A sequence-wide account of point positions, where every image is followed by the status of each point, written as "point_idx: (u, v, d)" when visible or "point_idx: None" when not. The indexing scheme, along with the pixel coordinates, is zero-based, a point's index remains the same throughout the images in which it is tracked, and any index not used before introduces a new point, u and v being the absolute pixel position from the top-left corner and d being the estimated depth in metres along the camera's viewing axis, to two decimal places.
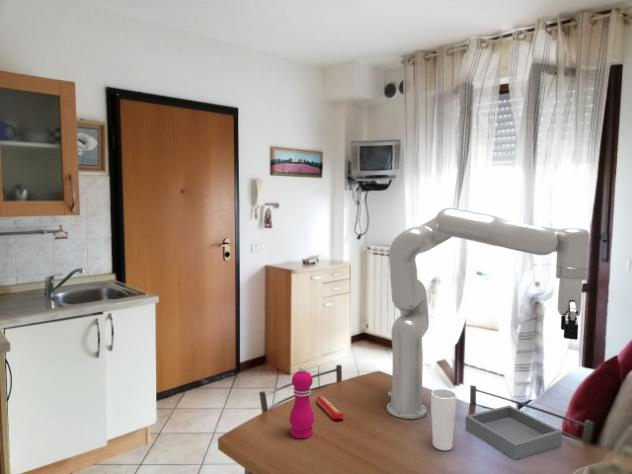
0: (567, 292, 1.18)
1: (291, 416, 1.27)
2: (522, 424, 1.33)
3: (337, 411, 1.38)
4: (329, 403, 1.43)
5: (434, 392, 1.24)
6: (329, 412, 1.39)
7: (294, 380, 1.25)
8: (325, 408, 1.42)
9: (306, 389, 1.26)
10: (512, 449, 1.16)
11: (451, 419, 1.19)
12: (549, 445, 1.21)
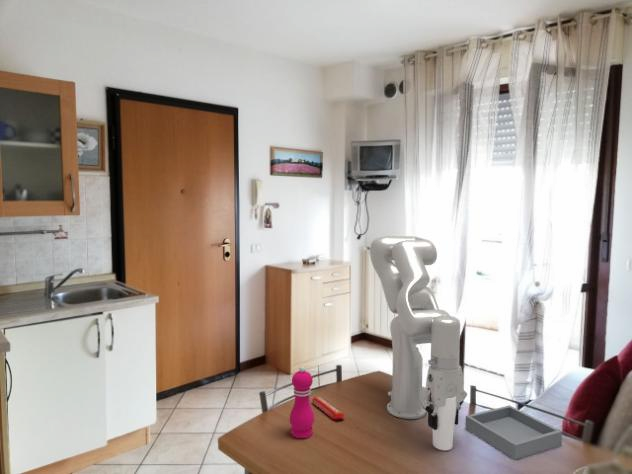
0: None
1: (291, 416, 1.27)
2: (522, 424, 1.33)
3: (337, 411, 1.37)
4: (327, 403, 1.42)
5: None
6: (329, 412, 1.39)
7: (294, 380, 1.25)
8: (324, 409, 1.41)
9: (306, 389, 1.26)
10: (512, 449, 1.16)
11: (451, 419, 1.19)
12: (549, 445, 1.21)
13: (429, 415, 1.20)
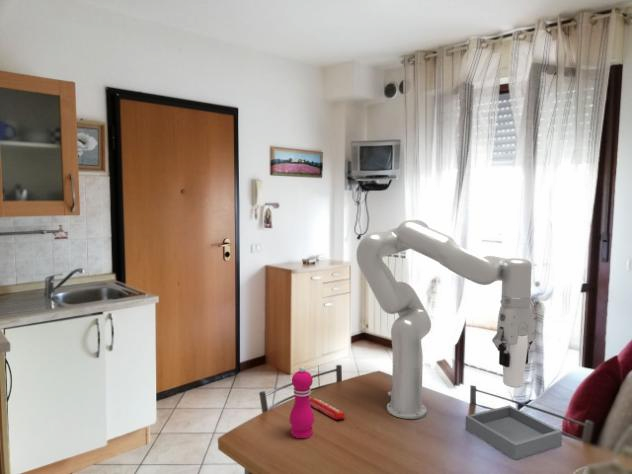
0: None
1: (291, 416, 1.27)
2: (522, 424, 1.33)
3: (338, 411, 1.38)
4: (326, 404, 1.42)
5: None
6: (329, 413, 1.38)
7: (294, 380, 1.25)
8: (323, 409, 1.41)
9: (306, 389, 1.26)
10: (512, 449, 1.16)
11: (523, 357, 1.23)
12: (549, 445, 1.21)
13: (501, 353, 1.24)
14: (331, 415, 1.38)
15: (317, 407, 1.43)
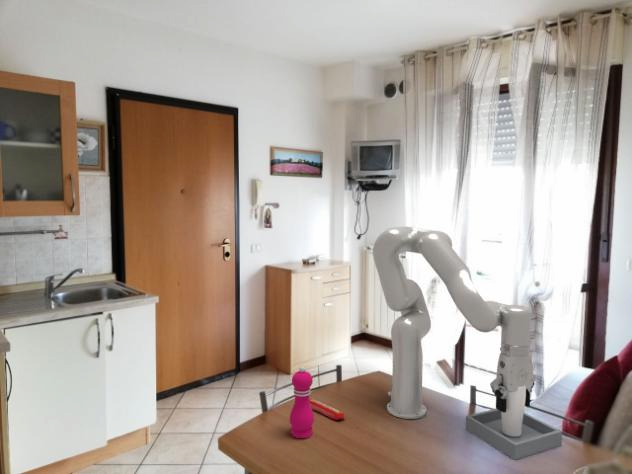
0: None
1: (291, 416, 1.27)
2: (522, 424, 1.33)
3: (338, 411, 1.37)
4: (324, 405, 1.42)
5: None
6: (329, 413, 1.38)
7: (294, 380, 1.25)
8: (322, 410, 1.40)
9: (306, 389, 1.26)
10: (512, 449, 1.16)
11: (521, 407, 1.24)
12: (549, 445, 1.21)
13: (498, 398, 1.25)
14: (331, 416, 1.37)
15: (315, 408, 1.42)
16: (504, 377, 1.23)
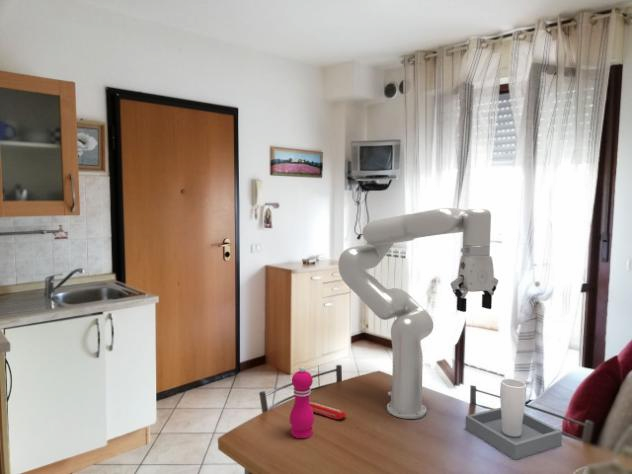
0: None
1: (291, 416, 1.27)
2: (522, 424, 1.33)
3: (339, 410, 1.38)
4: (323, 405, 1.41)
5: (503, 381, 1.29)
6: (330, 414, 1.38)
7: (294, 380, 1.25)
8: (322, 411, 1.39)
9: (306, 389, 1.26)
10: (512, 449, 1.16)
11: (521, 407, 1.24)
12: (549, 445, 1.21)
13: (458, 299, 1.27)
14: (332, 416, 1.37)
15: (314, 410, 1.41)
16: (464, 277, 1.26)
